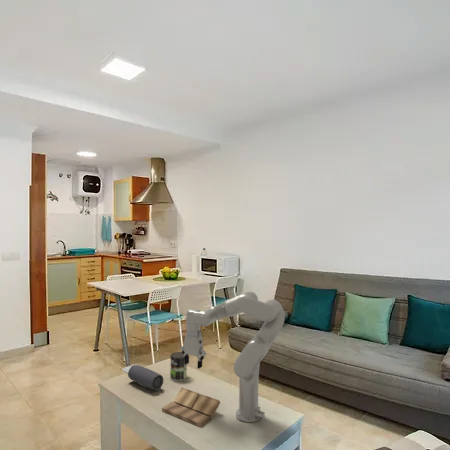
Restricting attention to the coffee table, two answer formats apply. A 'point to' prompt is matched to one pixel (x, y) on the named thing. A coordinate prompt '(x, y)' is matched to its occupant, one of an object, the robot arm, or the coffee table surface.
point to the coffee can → (178, 367)
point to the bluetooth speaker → (145, 377)
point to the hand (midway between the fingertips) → (193, 365)
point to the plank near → (206, 405)
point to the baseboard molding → (127, 368)
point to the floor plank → (186, 414)
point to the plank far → (186, 398)
